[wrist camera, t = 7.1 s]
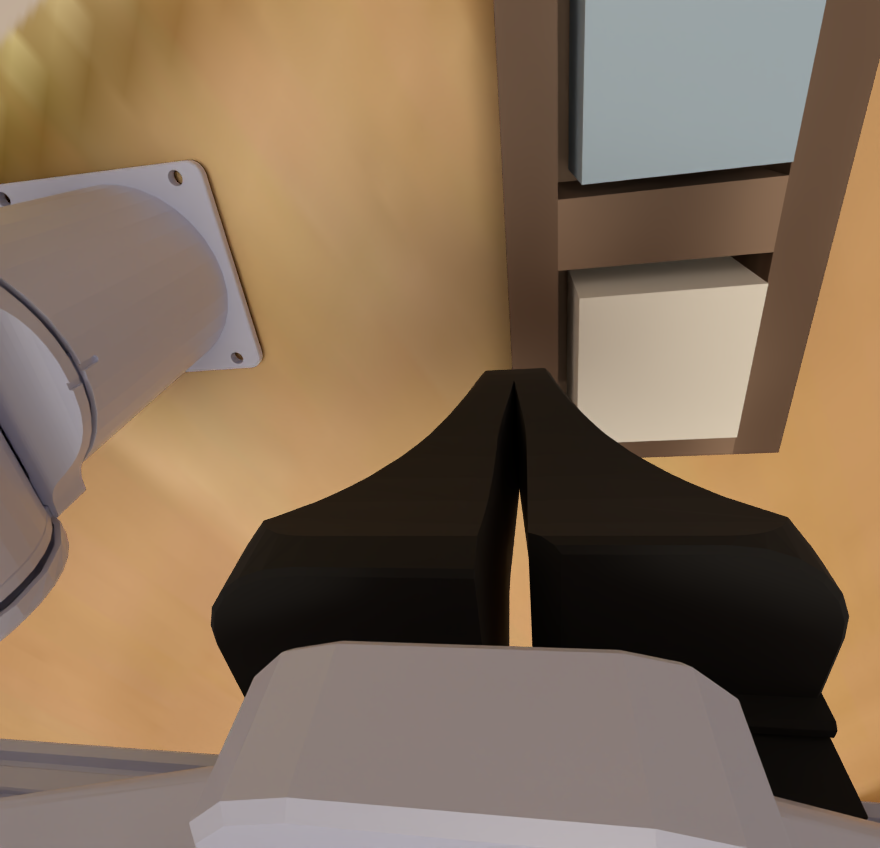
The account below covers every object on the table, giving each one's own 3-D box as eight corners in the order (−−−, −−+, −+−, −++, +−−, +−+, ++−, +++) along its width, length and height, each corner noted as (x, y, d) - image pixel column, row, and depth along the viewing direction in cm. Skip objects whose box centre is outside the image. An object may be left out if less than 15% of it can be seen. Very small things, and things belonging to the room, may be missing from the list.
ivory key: (566, 397, 20) (576, 443, 18) (567, 267, 18) (579, 298, 15) (704, 390, 20) (736, 437, 17) (726, 253, 17) (768, 283, 14)
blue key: (568, 169, 16) (581, 184, 14) (570, -43, 14) (587, -76, 11) (742, 149, 16) (793, 161, 13) (779, -79, 13) (851, -122, 10)
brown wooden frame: (514, 408, 23) (516, 462, 20) (489, -86, 15) (486, -137, 12) (735, 396, 22) (778, 452, 19) (841, -150, 14) (953, -229, 10)
